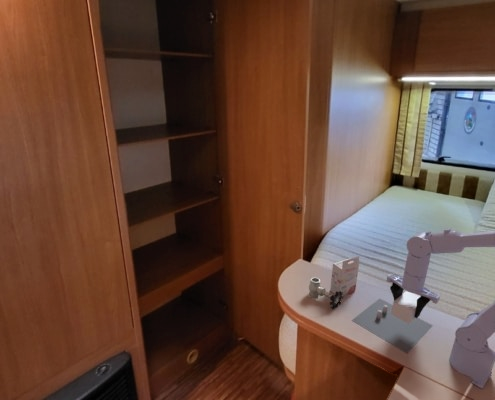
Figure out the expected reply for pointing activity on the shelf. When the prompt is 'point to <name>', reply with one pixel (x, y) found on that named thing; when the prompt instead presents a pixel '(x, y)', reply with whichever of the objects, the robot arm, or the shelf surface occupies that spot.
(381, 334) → the board
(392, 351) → the shelf surface
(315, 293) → the valve
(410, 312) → the block
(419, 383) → the shelf surface
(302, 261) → the shelf surface
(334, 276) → the ink cartridge box
